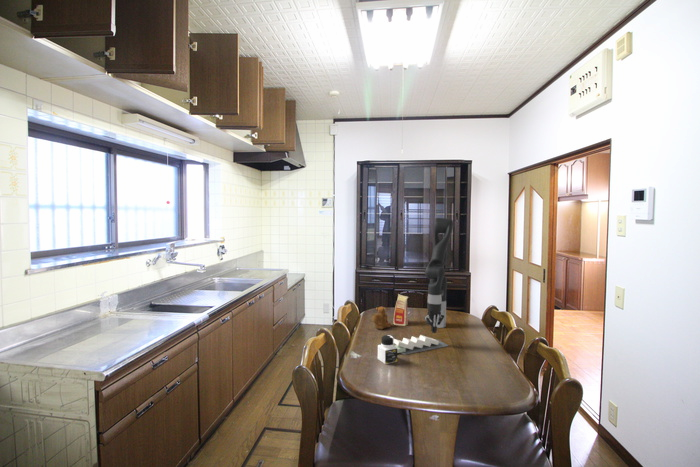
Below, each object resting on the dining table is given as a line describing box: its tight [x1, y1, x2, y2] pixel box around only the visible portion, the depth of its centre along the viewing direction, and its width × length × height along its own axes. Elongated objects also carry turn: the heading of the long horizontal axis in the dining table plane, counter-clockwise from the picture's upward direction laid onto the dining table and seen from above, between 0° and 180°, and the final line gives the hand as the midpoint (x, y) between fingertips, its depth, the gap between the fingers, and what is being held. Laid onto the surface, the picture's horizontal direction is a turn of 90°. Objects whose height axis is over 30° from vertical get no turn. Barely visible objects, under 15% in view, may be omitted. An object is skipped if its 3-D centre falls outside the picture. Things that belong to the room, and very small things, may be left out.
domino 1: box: [394, 338, 414, 350], centre depth 166 cm, size 2×5×10 cm
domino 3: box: [402, 337, 423, 348], centre depth 169 cm, size 2×5×10 cm
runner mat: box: [400, 338, 450, 356], centre depth 171 cm, size 10×30×1 cm, turn 114°
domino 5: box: [418, 334, 440, 345], centre depth 174 cm, size 2×5×10 cm
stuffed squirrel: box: [371, 306, 392, 331], centre depth 203 cm, size 10×14×13 cm
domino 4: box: [410, 336, 431, 347], centre depth 171 cm, size 2×5×10 cm
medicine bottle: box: [377, 334, 398, 365], centre depth 154 cm, size 7×7×12 cm
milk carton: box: [392, 293, 409, 327], centre depth 212 cm, size 9×9×20 cm
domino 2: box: [394, 344, 406, 354], centre depth 164 cm, size 2×5×10 cm
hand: (433, 332), depth 175 cm, fingers closed
